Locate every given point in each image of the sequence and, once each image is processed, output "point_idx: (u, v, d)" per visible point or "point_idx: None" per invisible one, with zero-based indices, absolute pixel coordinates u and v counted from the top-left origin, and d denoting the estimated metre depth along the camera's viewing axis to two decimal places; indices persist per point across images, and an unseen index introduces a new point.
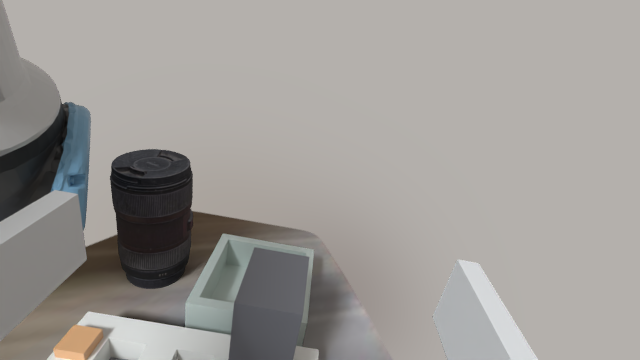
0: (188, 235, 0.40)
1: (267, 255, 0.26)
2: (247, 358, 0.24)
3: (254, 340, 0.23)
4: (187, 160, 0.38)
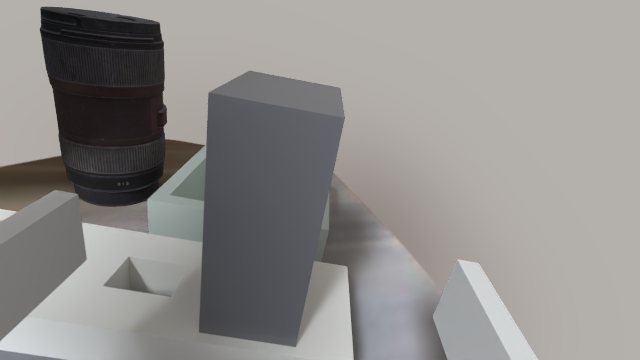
0: (160, 135, 0.30)
1: (271, 77, 0.16)
2: (238, 228, 0.13)
3: (250, 185, 0.12)
4: (156, 22, 0.27)
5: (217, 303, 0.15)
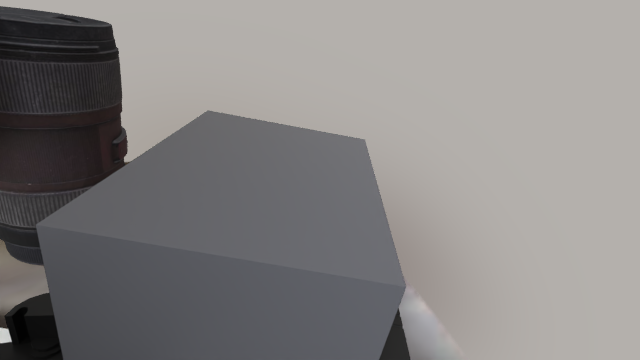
0: None
1: (244, 125, 0.09)
2: None
3: None
4: (107, 24, 0.20)
5: None
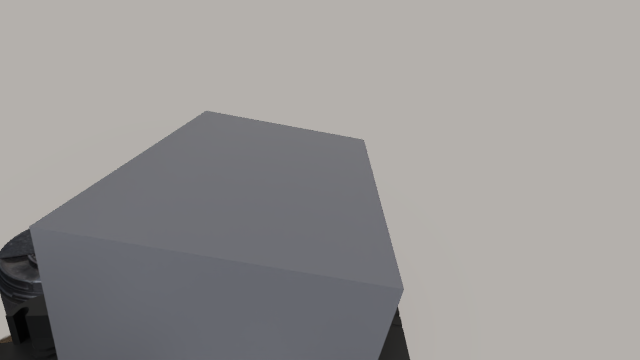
0: None
1: (242, 125, 0.09)
2: None
3: None
4: None
5: None
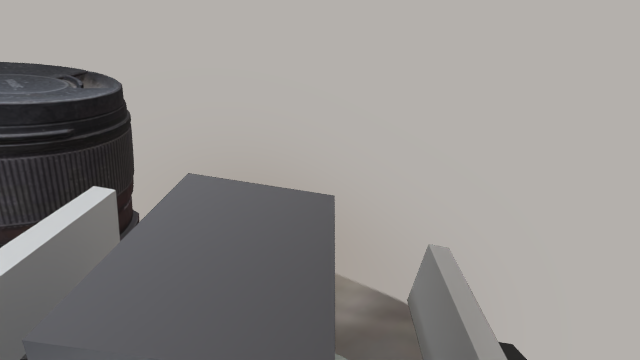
0: None
1: (220, 189, 0.10)
2: None
3: None
4: (111, 90, 0.14)
5: None
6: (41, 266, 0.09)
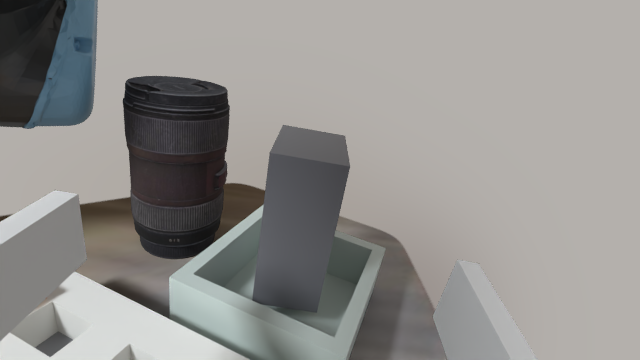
0: (216, 195, 0.30)
1: (299, 130, 0.23)
2: (282, 232, 0.21)
3: (291, 205, 0.20)
4: (224, 90, 0.28)
5: (265, 282, 0.22)
6: None
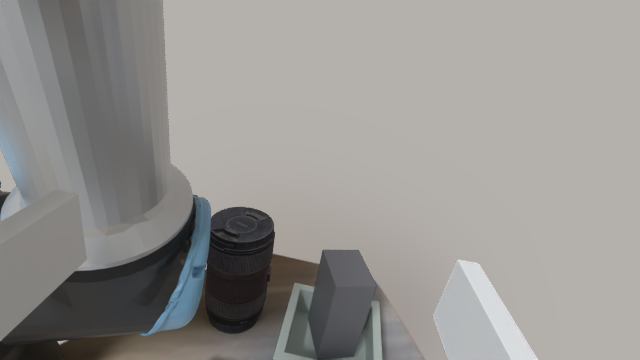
0: (266, 285, 0.44)
1: (334, 253, 0.39)
2: (339, 321, 0.36)
3: (345, 308, 0.36)
4: (270, 219, 0.42)
5: (326, 347, 0.38)
6: None
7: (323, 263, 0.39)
